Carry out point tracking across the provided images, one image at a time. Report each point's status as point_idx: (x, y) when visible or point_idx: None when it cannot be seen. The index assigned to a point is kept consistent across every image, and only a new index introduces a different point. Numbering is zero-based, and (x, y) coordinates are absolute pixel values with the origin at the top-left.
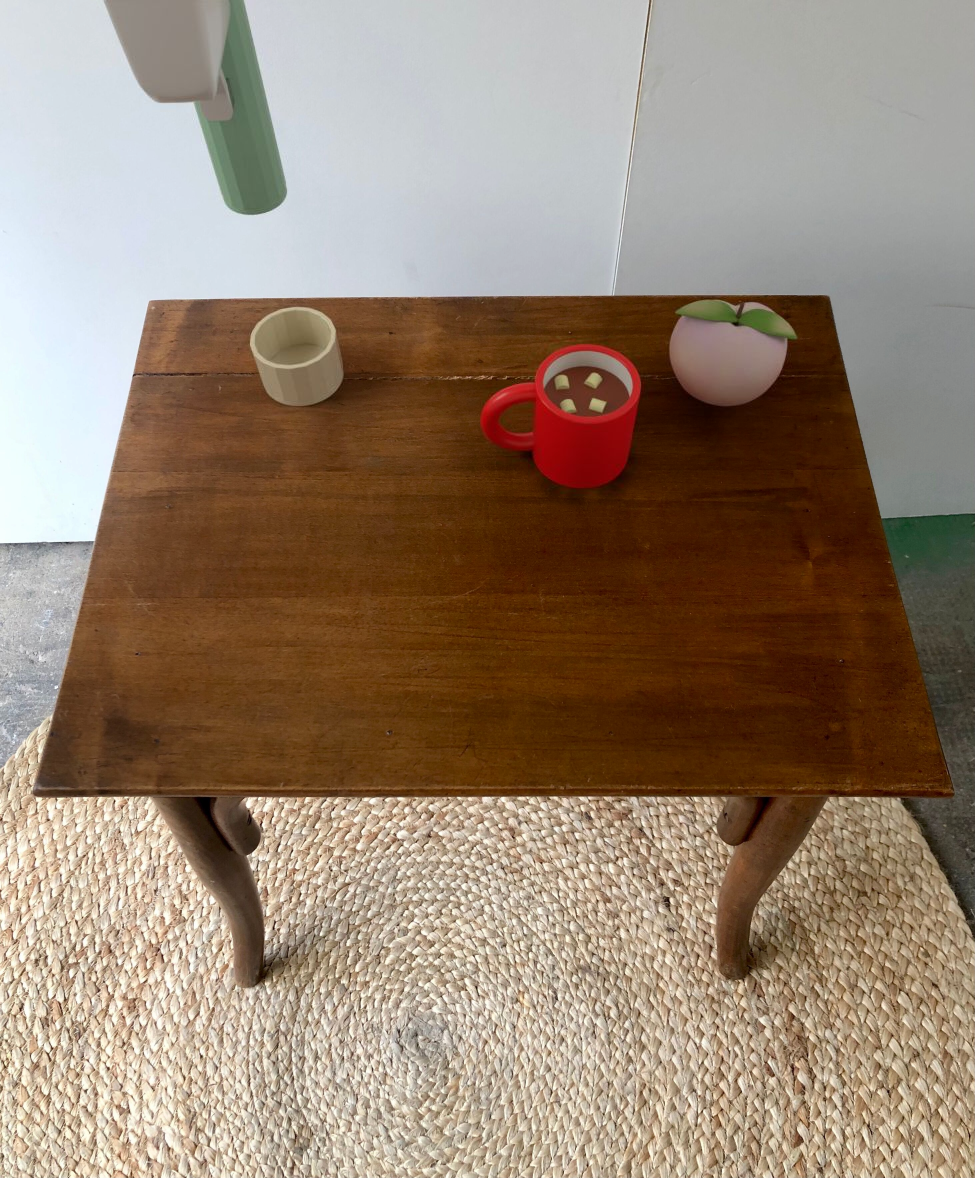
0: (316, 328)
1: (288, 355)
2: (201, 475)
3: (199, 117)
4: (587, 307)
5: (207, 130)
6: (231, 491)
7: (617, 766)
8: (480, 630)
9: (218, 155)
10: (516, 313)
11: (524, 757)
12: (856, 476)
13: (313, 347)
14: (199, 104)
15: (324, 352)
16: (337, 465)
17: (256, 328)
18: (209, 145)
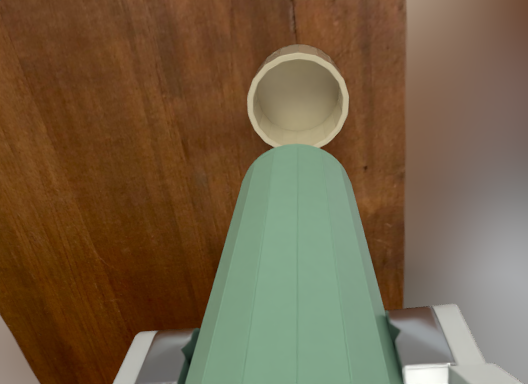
0: (337, 112)
1: (319, 71)
2: (145, 14)
3: (236, 251)
4: None
5: (226, 251)
6: (135, 54)
7: (23, 337)
8: (76, 268)
9: (228, 231)
10: (394, 270)
11: (5, 296)
12: None
13: (333, 97)
14: (124, 360)
15: (277, 145)
16: (190, 148)
17: (306, 57)
18: (238, 221)
